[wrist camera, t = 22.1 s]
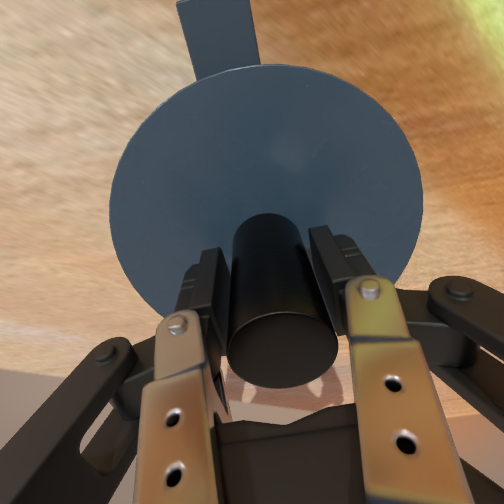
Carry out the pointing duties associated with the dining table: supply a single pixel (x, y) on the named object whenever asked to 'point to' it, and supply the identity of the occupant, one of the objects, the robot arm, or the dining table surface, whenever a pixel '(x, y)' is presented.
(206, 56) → the pot
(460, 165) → the dining table surface
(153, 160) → the lid
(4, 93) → the dining table surface
